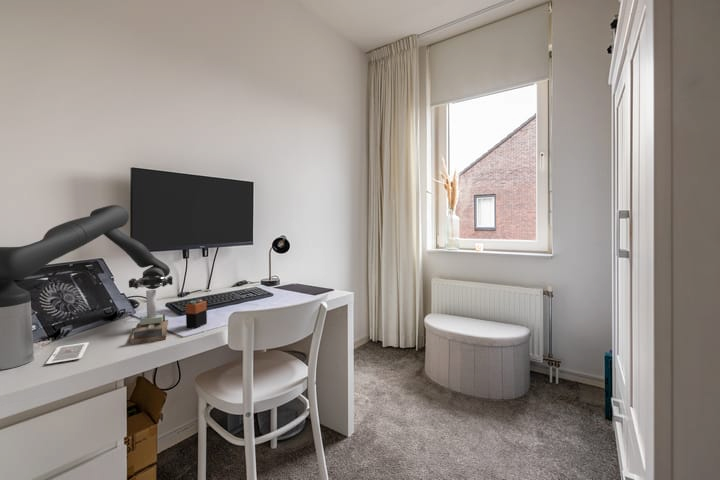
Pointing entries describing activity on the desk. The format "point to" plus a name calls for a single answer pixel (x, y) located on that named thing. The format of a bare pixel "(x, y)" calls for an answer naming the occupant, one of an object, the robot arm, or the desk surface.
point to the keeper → (151, 310)
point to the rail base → (141, 327)
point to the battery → (196, 314)
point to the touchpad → (68, 352)
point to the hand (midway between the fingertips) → (150, 284)
